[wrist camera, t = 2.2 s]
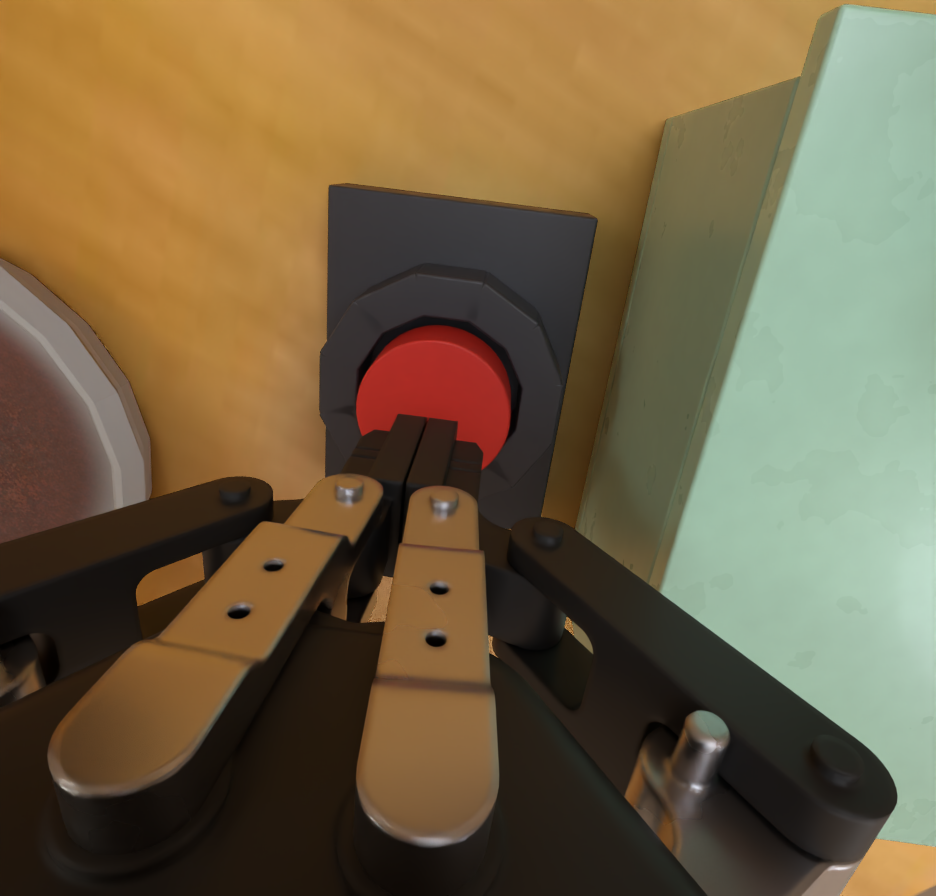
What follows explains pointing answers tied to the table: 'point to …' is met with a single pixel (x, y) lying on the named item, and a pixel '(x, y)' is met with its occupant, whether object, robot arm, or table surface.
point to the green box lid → (833, 412)
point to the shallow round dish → (61, 416)
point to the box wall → (677, 316)
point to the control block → (457, 313)
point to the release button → (439, 386)
